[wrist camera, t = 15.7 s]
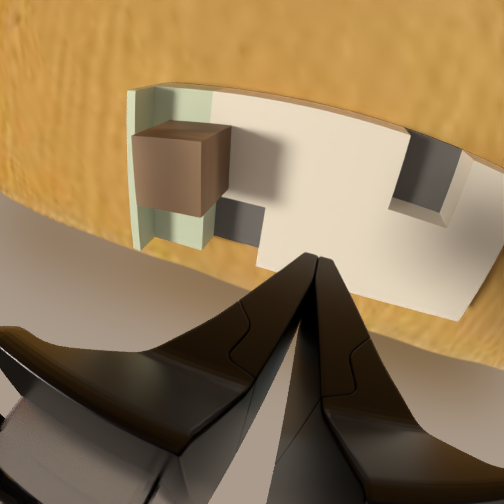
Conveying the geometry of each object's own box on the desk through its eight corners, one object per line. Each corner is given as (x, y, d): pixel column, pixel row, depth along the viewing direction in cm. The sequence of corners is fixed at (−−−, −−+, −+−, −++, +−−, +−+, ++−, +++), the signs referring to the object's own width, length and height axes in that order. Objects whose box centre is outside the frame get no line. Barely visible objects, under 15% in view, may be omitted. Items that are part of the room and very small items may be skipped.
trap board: (513, 173, 15) (544, 201, 11) (452, 299, 21) (462, 341, 18) (167, 82, 19) (127, 90, 15) (164, 219, 25) (133, 248, 22)
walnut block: (231, 125, 17) (201, 141, 14) (228, 188, 19) (200, 218, 16) (170, 120, 18) (131, 135, 15) (171, 179, 20) (136, 205, 17)
